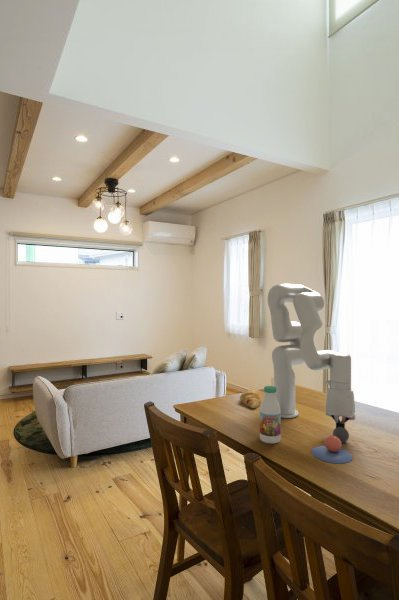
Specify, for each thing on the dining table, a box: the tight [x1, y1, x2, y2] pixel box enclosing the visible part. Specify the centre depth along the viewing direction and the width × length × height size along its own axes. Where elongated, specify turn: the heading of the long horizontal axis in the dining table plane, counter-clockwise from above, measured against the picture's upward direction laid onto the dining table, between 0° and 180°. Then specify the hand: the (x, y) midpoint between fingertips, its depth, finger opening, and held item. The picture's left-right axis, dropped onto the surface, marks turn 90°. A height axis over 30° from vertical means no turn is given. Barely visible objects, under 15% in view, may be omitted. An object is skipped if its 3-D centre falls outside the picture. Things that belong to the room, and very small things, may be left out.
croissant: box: [239, 389, 261, 409], centre depth 177 cm, size 21×10×8 cm, turn 3°
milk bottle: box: [259, 385, 282, 445], centre depth 131 cm, size 8×8×20 cm
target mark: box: [311, 445, 353, 465], centre depth 119 cm, size 13×13×1 cm
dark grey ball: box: [332, 427, 350, 444], centre depth 129 cm, size 6×6×6 cm
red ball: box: [324, 434, 342, 452], centre depth 121 cm, size 6×6×6 cm
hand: (340, 432), depth 134 cm, fingers closed
